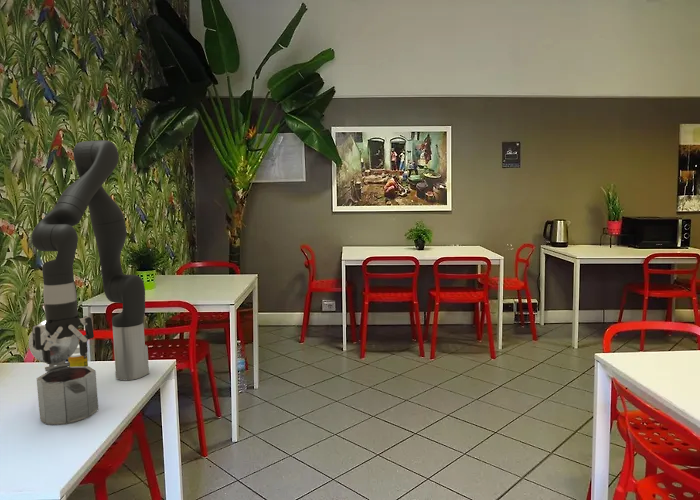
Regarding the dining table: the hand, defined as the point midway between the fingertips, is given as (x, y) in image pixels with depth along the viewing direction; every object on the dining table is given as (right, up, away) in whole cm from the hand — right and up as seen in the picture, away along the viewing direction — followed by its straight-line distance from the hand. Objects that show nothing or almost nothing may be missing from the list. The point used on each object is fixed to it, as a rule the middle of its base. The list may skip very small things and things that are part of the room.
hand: (66, 359), depth 140 cm
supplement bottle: (-12, -12, +30) cm, 35 cm away
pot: (0, -15, +2) cm, 15 cm away
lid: (-6, +5, +5) cm, 9 cm away
